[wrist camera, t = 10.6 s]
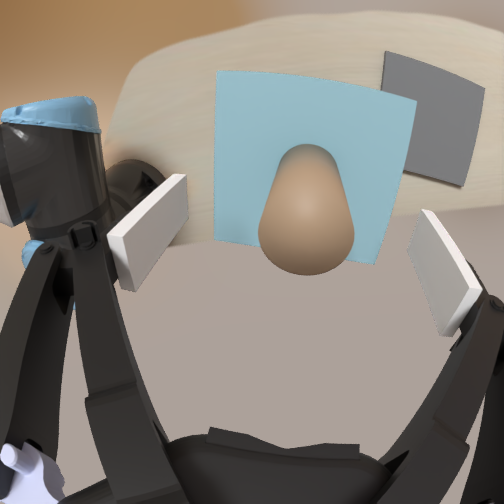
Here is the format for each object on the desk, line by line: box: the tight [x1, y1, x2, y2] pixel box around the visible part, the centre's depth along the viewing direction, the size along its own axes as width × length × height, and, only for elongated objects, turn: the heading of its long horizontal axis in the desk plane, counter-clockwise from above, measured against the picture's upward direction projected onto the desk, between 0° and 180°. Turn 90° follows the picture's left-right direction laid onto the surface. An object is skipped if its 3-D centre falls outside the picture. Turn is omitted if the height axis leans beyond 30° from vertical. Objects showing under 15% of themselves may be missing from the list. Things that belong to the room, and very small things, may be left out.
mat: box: [381, 51, 485, 186], centre depth 31 cm, size 16×16×1 cm
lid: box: [214, 71, 417, 275], centre depth 17 cm, size 14×14×10 cm
